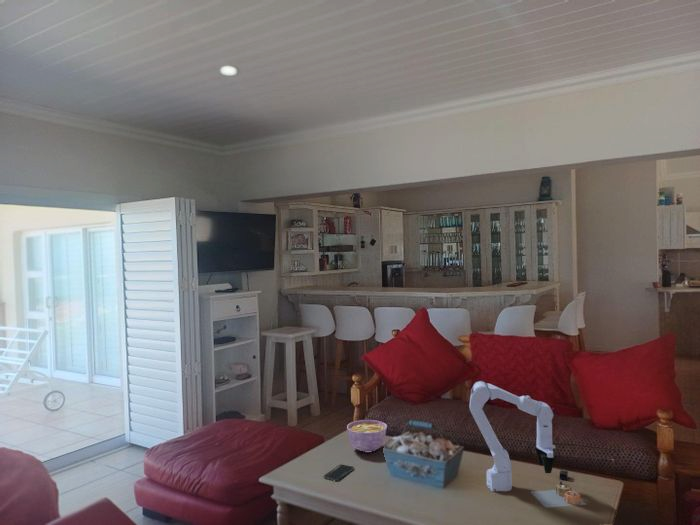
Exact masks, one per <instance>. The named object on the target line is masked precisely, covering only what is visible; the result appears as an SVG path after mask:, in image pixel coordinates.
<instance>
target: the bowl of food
mask: <svg viewBox="0 0 700 525" xmlns="http://www.w3.org/2000/svg"><path fill="white" fill-rule="evenodd" d="M387 429H388V425H387V424H386V423H385V422H382V421H379V420H374V419H362V420H360V419H359V420H356V421H351V422H350V423H348V424H347V425H346V430H347V432H348V434H347V435H348V436H349V437H348V438H349V441H350V444H351V445H352V447H353V448H355V449H356V450H358V451H360V452H361V451H373V452H375V451H376V450H378V449H380V448H382V447H383V444H384V442H385V439H386V433H387ZM374 450H375V451H374Z"/></svg>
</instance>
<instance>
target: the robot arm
mask: <svg viewBox="0 0 700 525" xmlns="http://www.w3.org/2000/svg"><path fill="white" fill-rule="evenodd" d="M495 399H500V400H502V401H506V402H507V403H511V404H514V405H516V407H517V409H518V410H520V411H522V412H525V413H527V414H530V415H531V416H536V445H533V449H534V451H535V453H536V457H537V462H538V465H539V466H543V468H544V469H543V470H544V473H545V474H552V471H553V467H554V463H555V462H556V460H557V456H556V455H554V450H553V449H556V445H555V444H553V423H552V422H553V421H552V420H553V418H554V411H553V410H552V408H551V407H550V405H549V404H548V403H546V402H544V401H540V400H539V401H538V400H535V399H532V398H531V396H530V395H527V394H526V395H521V396H518V395H517V394H513V393H511V392H509V391H507V390H504V389H502V388H500V387H498V386H496V385H493V384H491V383H488V382H487V383H486V382H485V381H483V380H479V381H476V382H474V384H473V386H472V387H471V389H470V397H469V411H470V414H471V416H472V417H473V419H474V421H475V423H476V425H477V426H478V429H479V431H480V432H481V435H482V436H483V438H484V441H485V443H486V444H487V447H488V449H489V451H490V453H491V455H492V458H493V462H494V464H493V465H492V467H491V468H489V469H488V468H487V469H486V474H485V475H486V486H487V488H488V489H489V490H490V491H491V492H509V491H511V490H512V489H513V482H512V481H513V480H512V478H513V477H512V476H513V474H512V462H511V460H510V455H509V454H510V453H509V452H508V451H507V450H506V449H505V448H504V447H503V445H502V444H501V443H500V441H499V439H498V436H497V435H496V433H495V432H494V429H493V427H492V425H491V424H490V421H489V419H488V417H487V416H486V414H485V411H484V409H483V408H484V405H485V404H486V403H487V402H488V400H491V401H493V400H495Z"/></svg>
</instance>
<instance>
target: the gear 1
mask: <svg viewBox="0 0 700 525" xmlns="http://www.w3.org/2000/svg"><path fill="white" fill-rule="evenodd" d="M562 485H565V488H562ZM555 490H556V493H557V494H558V495H560V496H564V493H565V492H566V491H572V487H571V486H570V485H569V484H566V483H563V480H561V481H559V483H556V485H555Z"/></svg>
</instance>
